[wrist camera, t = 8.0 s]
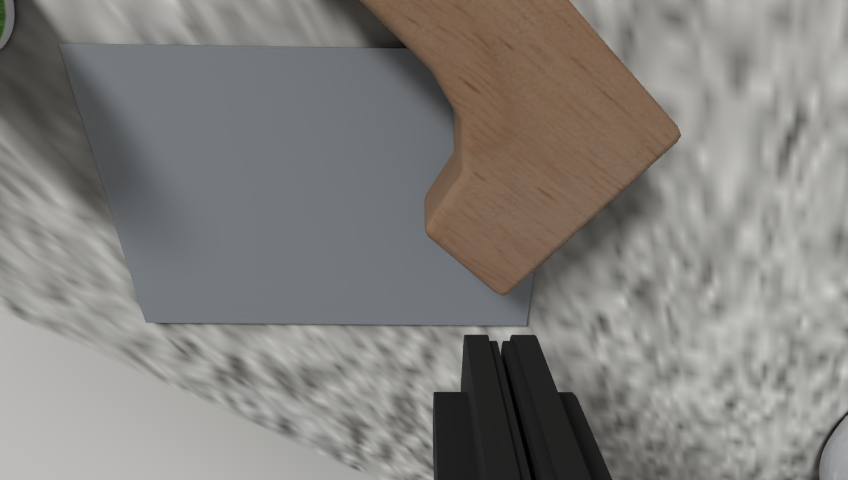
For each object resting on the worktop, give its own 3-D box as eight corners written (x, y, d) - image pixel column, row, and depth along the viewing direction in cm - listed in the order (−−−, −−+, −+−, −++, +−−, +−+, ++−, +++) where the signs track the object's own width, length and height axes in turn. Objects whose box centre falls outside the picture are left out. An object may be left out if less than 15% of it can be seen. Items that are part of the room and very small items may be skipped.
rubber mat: (561, 50, 19) (564, 50, 18) (524, 321, 25) (526, 325, 24) (65, 43, 18) (58, 43, 18) (149, 318, 24) (145, 322, 24)
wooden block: (503, 303, 18) (84, -48, 13) (488, 256, 22) (165, -22, 17) (690, 136, 15) (253, -375, 10) (632, 119, 19) (301, -252, 15)
